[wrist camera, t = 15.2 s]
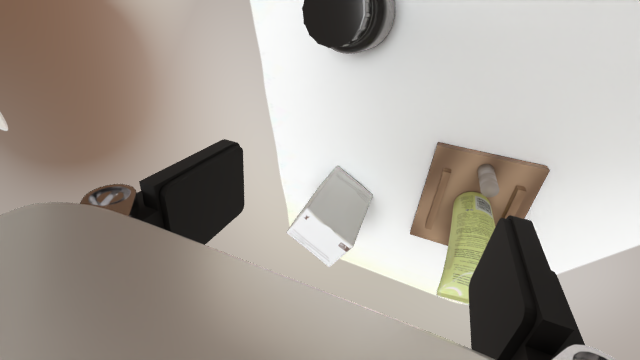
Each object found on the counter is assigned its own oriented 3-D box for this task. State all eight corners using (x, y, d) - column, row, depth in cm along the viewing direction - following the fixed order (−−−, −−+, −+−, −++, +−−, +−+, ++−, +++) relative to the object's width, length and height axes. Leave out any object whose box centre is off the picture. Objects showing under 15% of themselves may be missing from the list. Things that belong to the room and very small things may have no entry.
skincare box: (320, 185, 55) (281, 231, 43) (339, 163, 52) (303, 206, 40) (355, 215, 55) (327, 270, 43) (376, 195, 52) (352, 248, 40)
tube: (460, 226, 47) (464, 333, 31) (442, 201, 46) (435, 296, 30) (498, 211, 44) (524, 320, 28) (478, 184, 43) (493, 279, 27)
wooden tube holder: (546, 165, 41) (563, 191, 34) (500, 255, 48) (506, 290, 42) (437, 142, 44) (435, 161, 38) (410, 229, 52) (405, 256, 46)
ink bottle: (403, -28, 37) (385, -46, 27) (395, 51, 41) (376, 59, 31) (328, -23, 41) (287, -38, 31) (327, 49, 45) (291, 56, 35)
